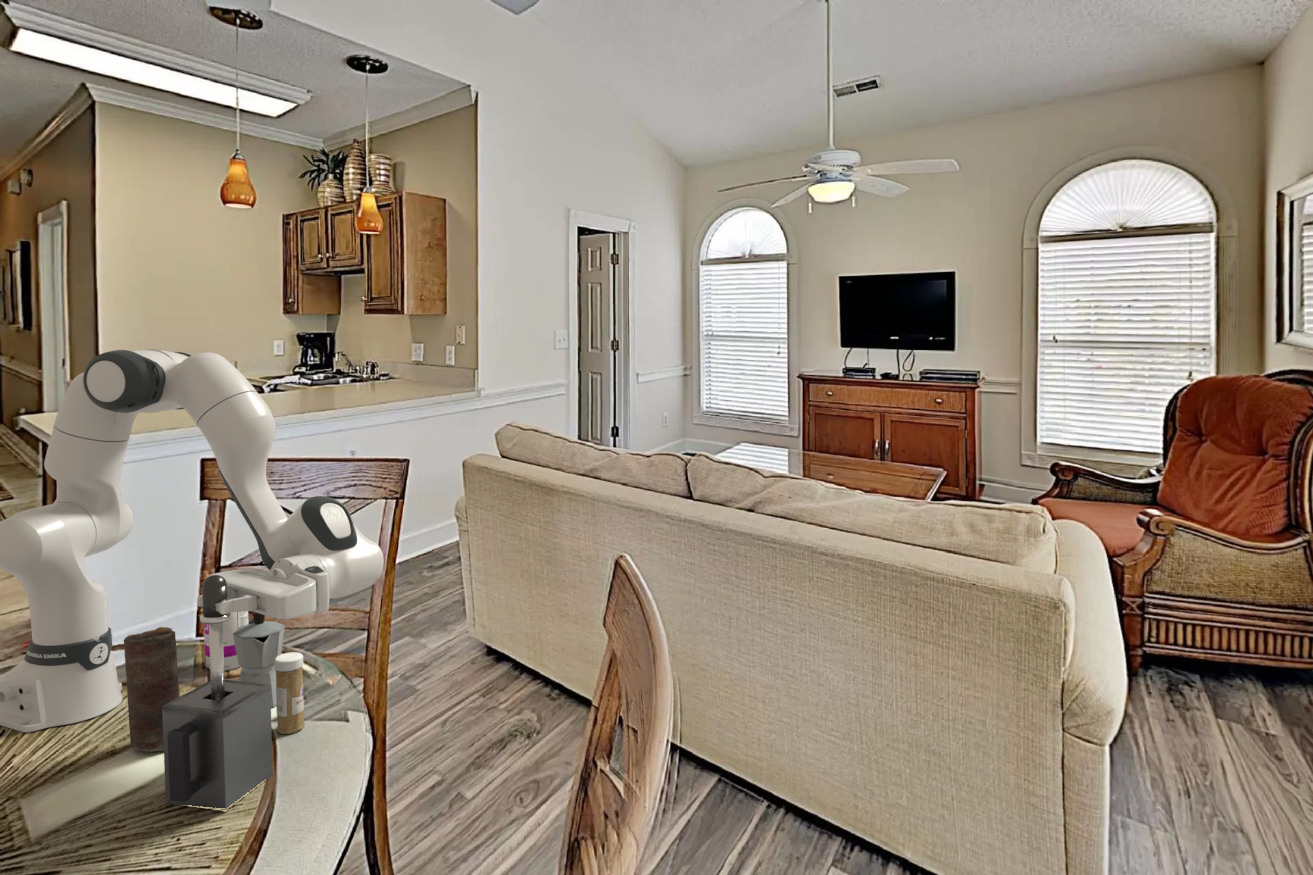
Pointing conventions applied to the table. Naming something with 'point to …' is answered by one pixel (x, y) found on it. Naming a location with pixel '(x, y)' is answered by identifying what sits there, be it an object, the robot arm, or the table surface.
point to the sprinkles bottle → (289, 692)
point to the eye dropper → (215, 631)
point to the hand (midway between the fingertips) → (209, 605)
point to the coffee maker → (259, 651)
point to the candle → (150, 684)
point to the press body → (217, 744)
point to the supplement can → (227, 640)
